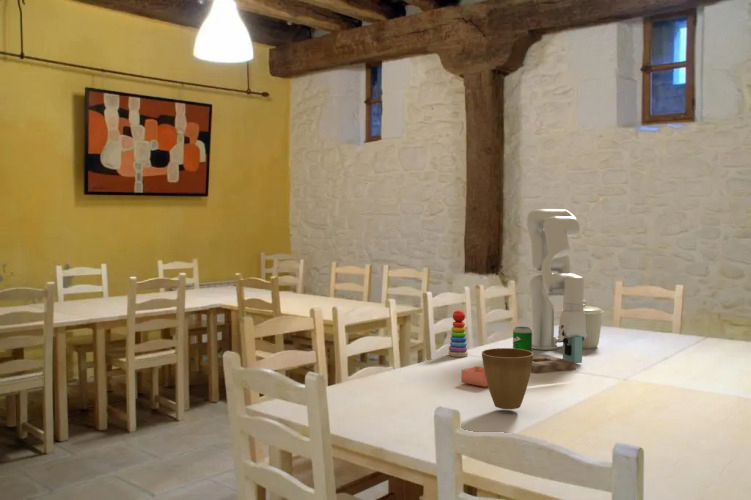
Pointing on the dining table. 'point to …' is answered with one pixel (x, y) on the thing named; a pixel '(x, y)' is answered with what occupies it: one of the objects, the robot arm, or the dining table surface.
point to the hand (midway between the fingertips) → (572, 354)
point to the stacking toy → (458, 336)
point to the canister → (592, 326)
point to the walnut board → (550, 364)
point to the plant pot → (507, 375)
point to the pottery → (474, 376)
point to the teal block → (574, 350)
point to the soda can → (522, 338)
